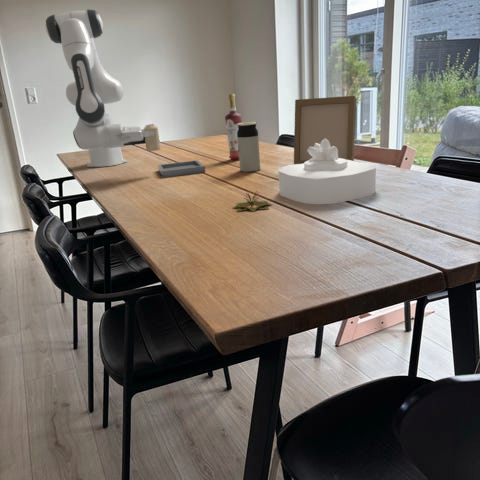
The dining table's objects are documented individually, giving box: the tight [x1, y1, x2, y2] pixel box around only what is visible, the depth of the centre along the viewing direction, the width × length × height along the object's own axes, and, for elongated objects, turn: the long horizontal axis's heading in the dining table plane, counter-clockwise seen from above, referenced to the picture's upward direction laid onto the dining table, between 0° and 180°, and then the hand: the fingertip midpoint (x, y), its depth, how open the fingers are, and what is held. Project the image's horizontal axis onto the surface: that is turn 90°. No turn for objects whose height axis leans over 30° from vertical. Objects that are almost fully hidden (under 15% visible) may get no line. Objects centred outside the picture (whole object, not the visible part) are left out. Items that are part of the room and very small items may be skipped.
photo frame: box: [293, 95, 357, 165], centre depth 175 cm, size 15×22×25 cm
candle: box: [143, 123, 161, 152], centre depth 184 cm, size 6×6×10 cm
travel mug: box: [237, 121, 261, 173], centre depth 178 cm, size 8×8×18 cm
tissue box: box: [277, 138, 377, 205], centre depth 137 cm, size 25×25×16 cm
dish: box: [157, 159, 206, 179], centre depth 190 cm, size 17×17×2 cm
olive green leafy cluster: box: [232, 191, 273, 213], centre depth 129 cm, size 12×12×5 cm
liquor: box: [224, 93, 243, 161], centre depth 204 cm, size 7×7×28 cm
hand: (153, 132), depth 183 cm, fingers closed on candle, 5 cm apart
